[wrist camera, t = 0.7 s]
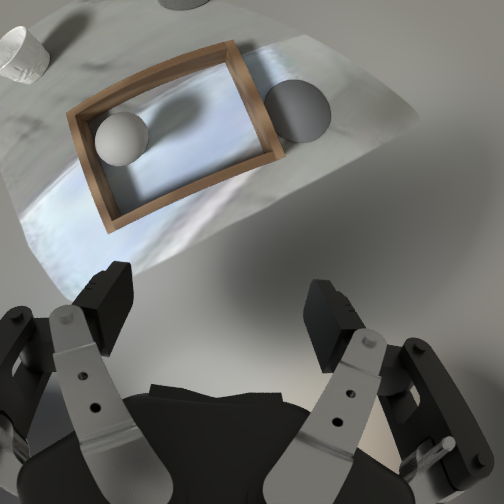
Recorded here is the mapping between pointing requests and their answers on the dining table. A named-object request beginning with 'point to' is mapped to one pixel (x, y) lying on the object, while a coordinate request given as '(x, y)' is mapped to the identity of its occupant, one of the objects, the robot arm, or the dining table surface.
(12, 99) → the dining table surface
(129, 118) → the lightbulb
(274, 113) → the mat
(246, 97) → the shallow wooden tray
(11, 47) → the white cup
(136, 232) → the dining table surface
